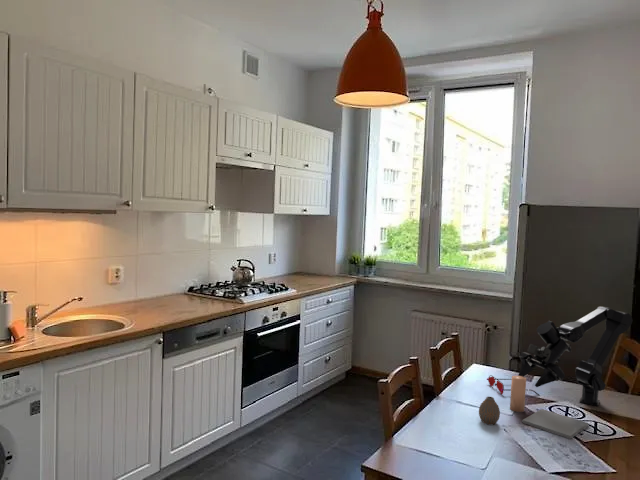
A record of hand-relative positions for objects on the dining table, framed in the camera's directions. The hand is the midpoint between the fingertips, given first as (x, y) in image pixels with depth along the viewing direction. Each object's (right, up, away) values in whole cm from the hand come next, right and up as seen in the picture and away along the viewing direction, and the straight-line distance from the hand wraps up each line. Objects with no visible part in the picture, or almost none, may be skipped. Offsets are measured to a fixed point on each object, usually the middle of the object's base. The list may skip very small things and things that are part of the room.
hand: (527, 382), depth 190 cm
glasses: (+3, -10, +21) cm, 24 cm away
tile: (+5, -11, -13) cm, 18 cm away
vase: (-19, -10, -13) cm, 25 cm away
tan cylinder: (-4, -10, -1) cm, 11 cm away
